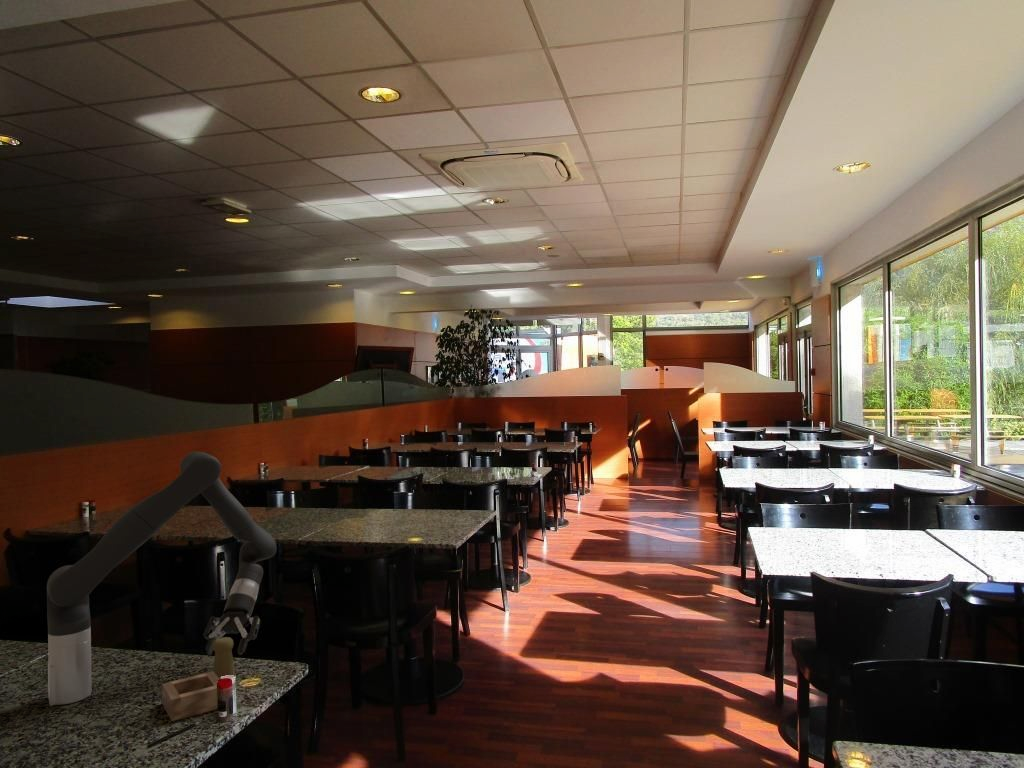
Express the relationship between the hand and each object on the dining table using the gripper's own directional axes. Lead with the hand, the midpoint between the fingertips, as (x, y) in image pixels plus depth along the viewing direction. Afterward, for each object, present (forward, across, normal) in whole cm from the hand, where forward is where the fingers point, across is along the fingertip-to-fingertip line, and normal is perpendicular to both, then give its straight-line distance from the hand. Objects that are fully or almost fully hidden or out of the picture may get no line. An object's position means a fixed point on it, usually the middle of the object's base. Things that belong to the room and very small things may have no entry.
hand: (224, 653), depth 187 cm
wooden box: (+16, 0, -6) cm, 17 cm away
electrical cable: (+27, +4, -17) cm, 32 cm away
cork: (+5, 0, +5) cm, 7 cm away
